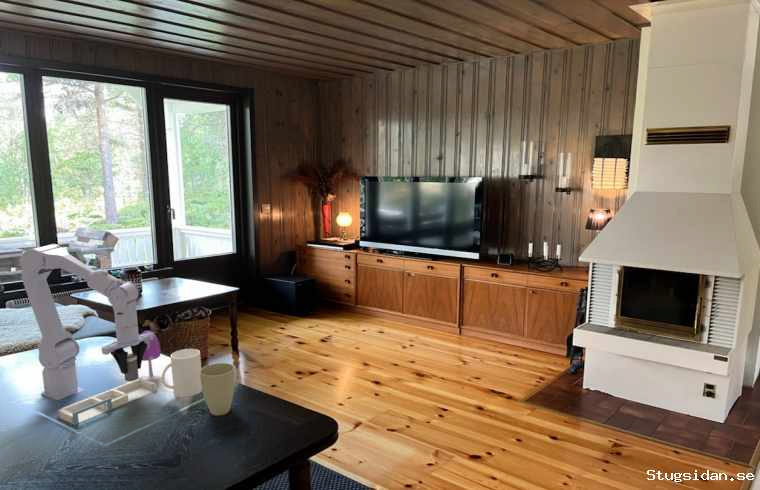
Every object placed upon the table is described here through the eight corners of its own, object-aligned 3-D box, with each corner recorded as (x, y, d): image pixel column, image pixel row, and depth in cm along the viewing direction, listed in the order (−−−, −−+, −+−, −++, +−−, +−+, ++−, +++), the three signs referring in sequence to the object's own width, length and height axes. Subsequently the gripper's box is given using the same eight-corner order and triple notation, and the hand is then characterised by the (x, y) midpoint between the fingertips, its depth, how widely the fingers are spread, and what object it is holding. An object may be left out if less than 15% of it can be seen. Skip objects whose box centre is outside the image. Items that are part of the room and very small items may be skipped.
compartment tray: (58, 419, 140) (56, 405, 139) (141, 386, 160) (140, 373, 159) (75, 427, 135) (73, 413, 135) (158, 392, 155) (157, 379, 155)
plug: (122, 379, 152) (119, 356, 151) (134, 375, 155) (131, 352, 154) (129, 382, 150) (127, 359, 149) (141, 377, 153) (139, 354, 152)
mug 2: (246, 409, 144) (244, 367, 142) (213, 422, 136) (210, 379, 135) (225, 397, 151) (222, 357, 149) (192, 409, 144) (189, 368, 142)
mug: (169, 405, 147) (166, 364, 145) (157, 396, 153) (153, 357, 151) (209, 391, 155) (206, 353, 153) (195, 383, 161) (192, 346, 159)
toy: (166, 374, 168) (163, 329, 166) (148, 382, 162) (143, 335, 160) (154, 370, 172) (150, 326, 169) (135, 377, 166) (130, 332, 164)
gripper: (110, 334, 142) (114, 382, 144) (158, 320, 154) (161, 364, 156) (95, 330, 146) (100, 377, 148) (143, 317, 158) (147, 360, 160)
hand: (131, 370), depth 152 cm, fingers closed on plug, 4 cm apart
